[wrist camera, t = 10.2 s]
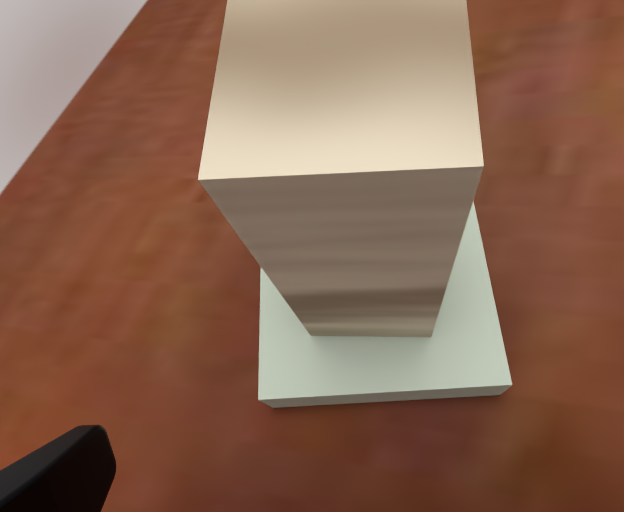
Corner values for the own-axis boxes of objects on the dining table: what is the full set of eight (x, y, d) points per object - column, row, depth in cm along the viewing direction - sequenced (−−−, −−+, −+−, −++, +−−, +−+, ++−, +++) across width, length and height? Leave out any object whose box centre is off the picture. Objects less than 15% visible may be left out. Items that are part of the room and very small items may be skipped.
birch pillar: (431, 337, 19) (484, 166, 8) (310, 335, 20) (197, 179, 9) (426, 227, 21) (462, -41, 10) (316, 230, 22) (229, -13, 10)
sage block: (497, 397, 20) (512, 384, 18) (275, 409, 22) (258, 399, 19) (459, 202, 25) (466, 169, 22) (276, 223, 26) (262, 194, 24)
